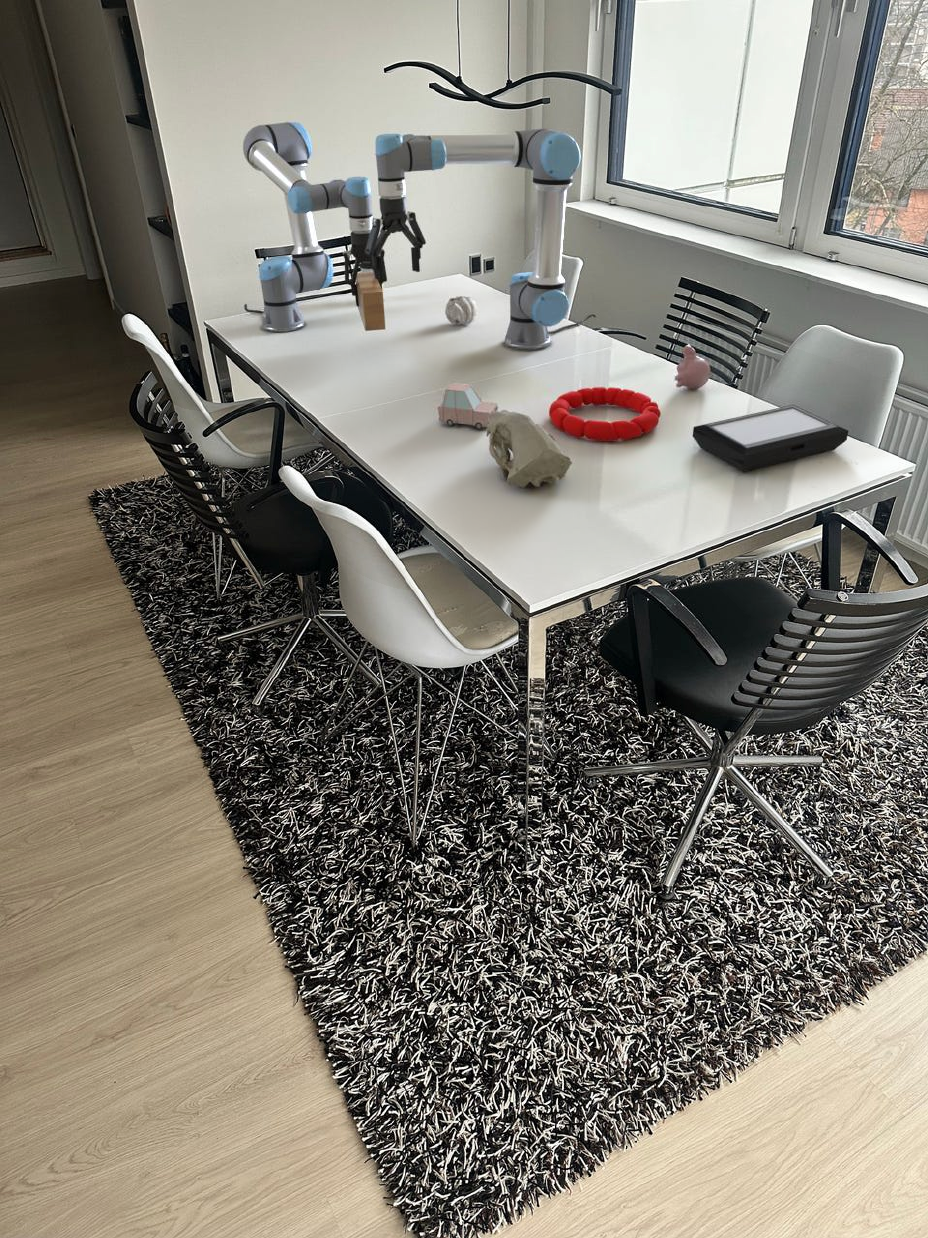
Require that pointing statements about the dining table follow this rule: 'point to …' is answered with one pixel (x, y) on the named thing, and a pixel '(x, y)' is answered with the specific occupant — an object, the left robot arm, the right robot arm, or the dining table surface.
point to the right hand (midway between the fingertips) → (397, 275)
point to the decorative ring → (604, 428)
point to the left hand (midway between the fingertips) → (368, 304)
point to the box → (370, 301)
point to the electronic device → (769, 437)
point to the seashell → (461, 310)
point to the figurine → (692, 370)
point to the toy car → (465, 406)
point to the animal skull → (525, 450)
